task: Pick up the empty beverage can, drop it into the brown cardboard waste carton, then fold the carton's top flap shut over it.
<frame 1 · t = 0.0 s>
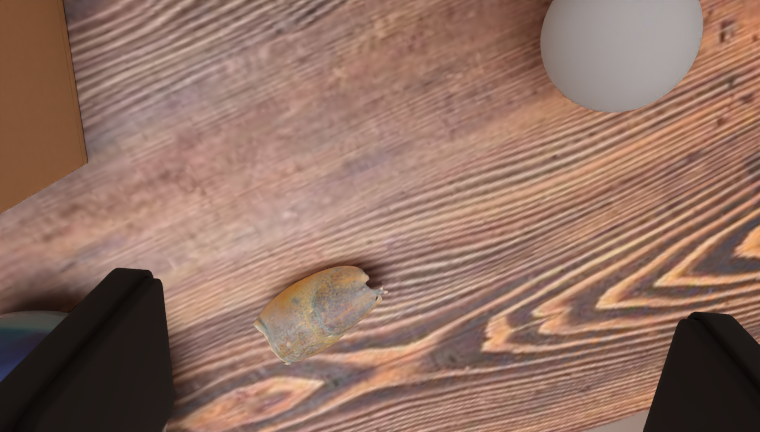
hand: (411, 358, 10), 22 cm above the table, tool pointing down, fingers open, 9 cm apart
vase: (86, 369, 39), on the table
shell: (330, 289, 36), on the table
light bulb: (569, 22, 29), on the table
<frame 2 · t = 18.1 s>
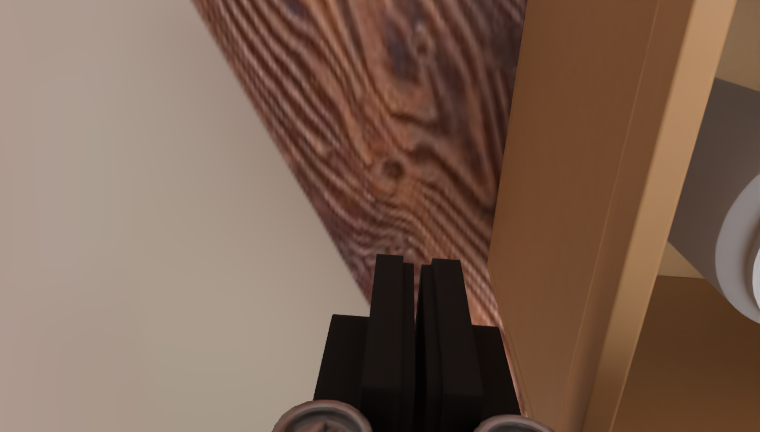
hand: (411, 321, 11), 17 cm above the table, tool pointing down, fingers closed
beverage can: (668, 139, 26), resting on carton
flap: (596, 346, 11), point 17 cm above the table, hinge at 109.8°, touching gripper
carton: (645, 137, 27), on the table
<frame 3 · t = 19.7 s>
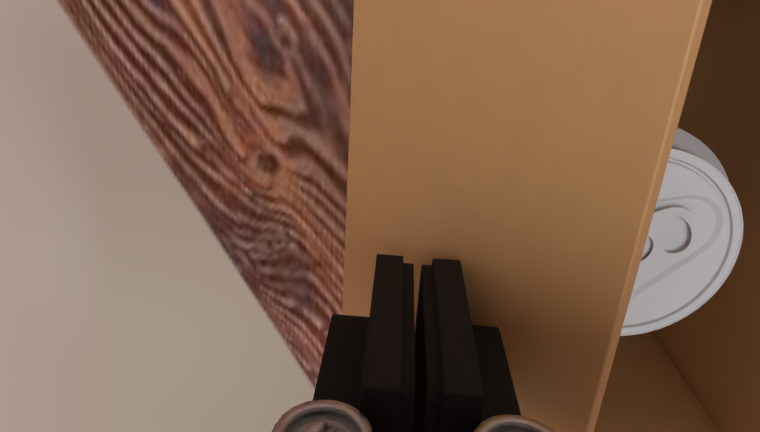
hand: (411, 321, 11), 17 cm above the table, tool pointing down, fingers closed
beverage can: (536, 132, 26), resting on carton
flap: (453, 317, 12), point 16 cm above the table, hinge at 42.1°
carton: (514, 130, 26), on the table
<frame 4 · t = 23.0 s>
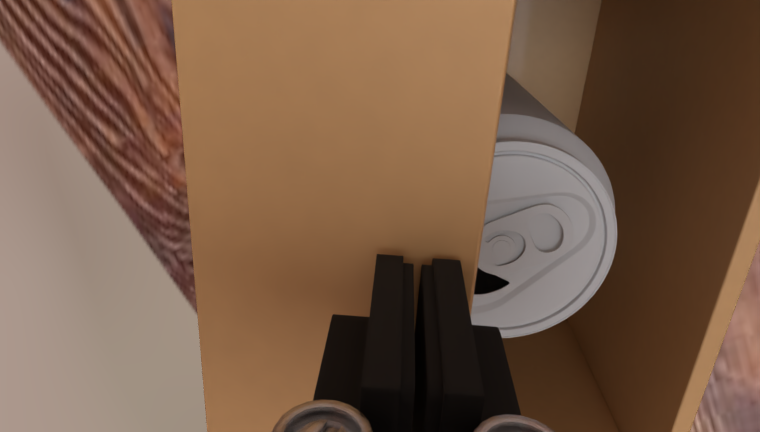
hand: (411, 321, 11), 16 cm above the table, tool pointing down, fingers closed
beverage can: (460, 129, 26), resting on carton
flap: (324, 289, 12), point 15 cm above the table, hinge at 14.5°, touching gripper
carton: (439, 127, 26), on the table
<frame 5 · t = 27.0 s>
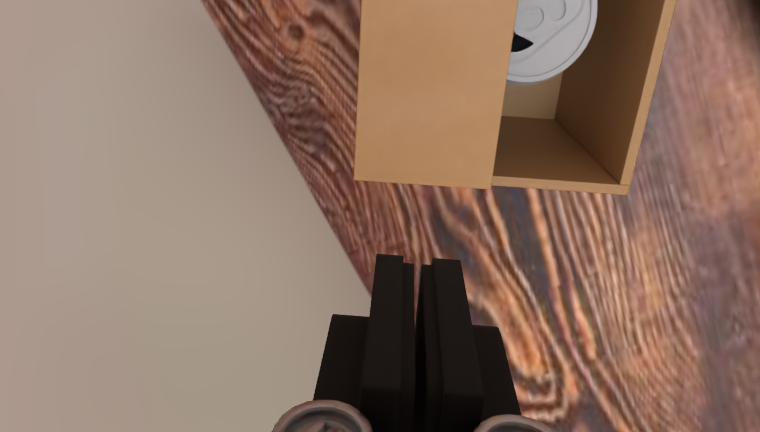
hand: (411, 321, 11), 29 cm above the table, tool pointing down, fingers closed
beverage can: (493, 3, 36), resting on carton
flap: (438, 14, 23), point 14 cm above the table, hinge at -0.8°
carton: (478, 3, 36), on the table
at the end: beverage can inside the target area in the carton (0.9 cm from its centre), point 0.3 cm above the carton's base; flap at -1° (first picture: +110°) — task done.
